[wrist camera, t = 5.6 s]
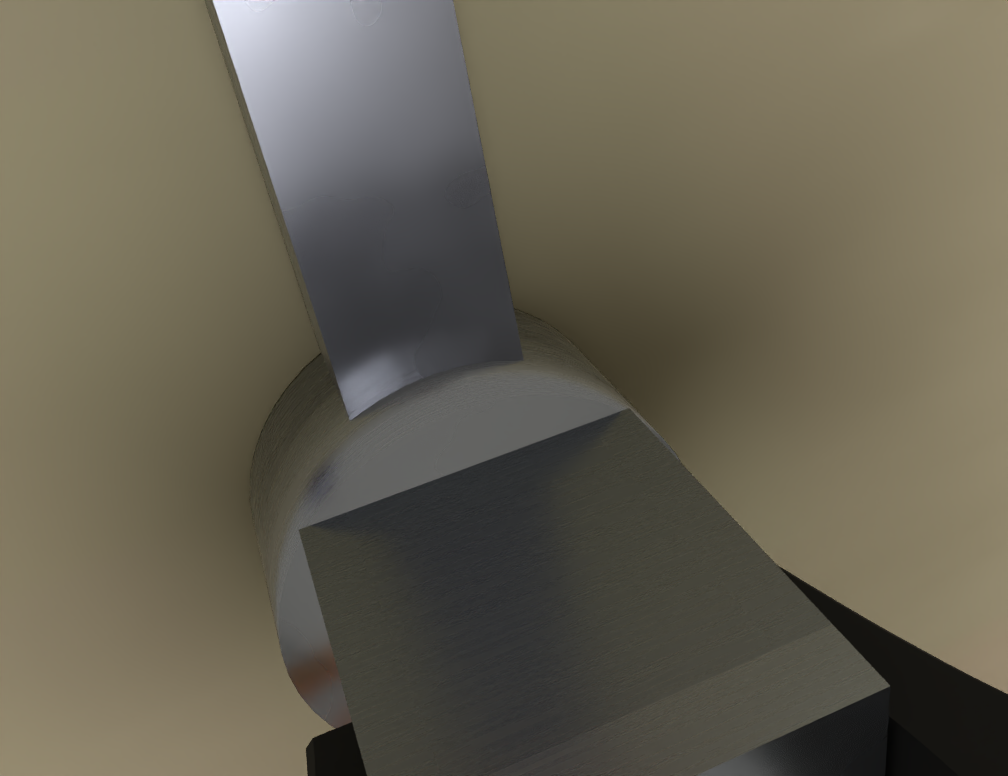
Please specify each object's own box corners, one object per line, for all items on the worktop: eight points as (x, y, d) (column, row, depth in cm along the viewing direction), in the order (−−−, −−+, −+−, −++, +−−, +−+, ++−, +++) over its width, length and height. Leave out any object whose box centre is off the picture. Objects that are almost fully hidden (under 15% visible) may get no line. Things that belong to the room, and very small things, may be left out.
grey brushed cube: (660, 642, 15) (875, 949, 11) (387, 758, 14) (505, 1143, 10) (629, 408, 12) (889, 686, 8) (298, 530, 11) (404, 910, 7)
